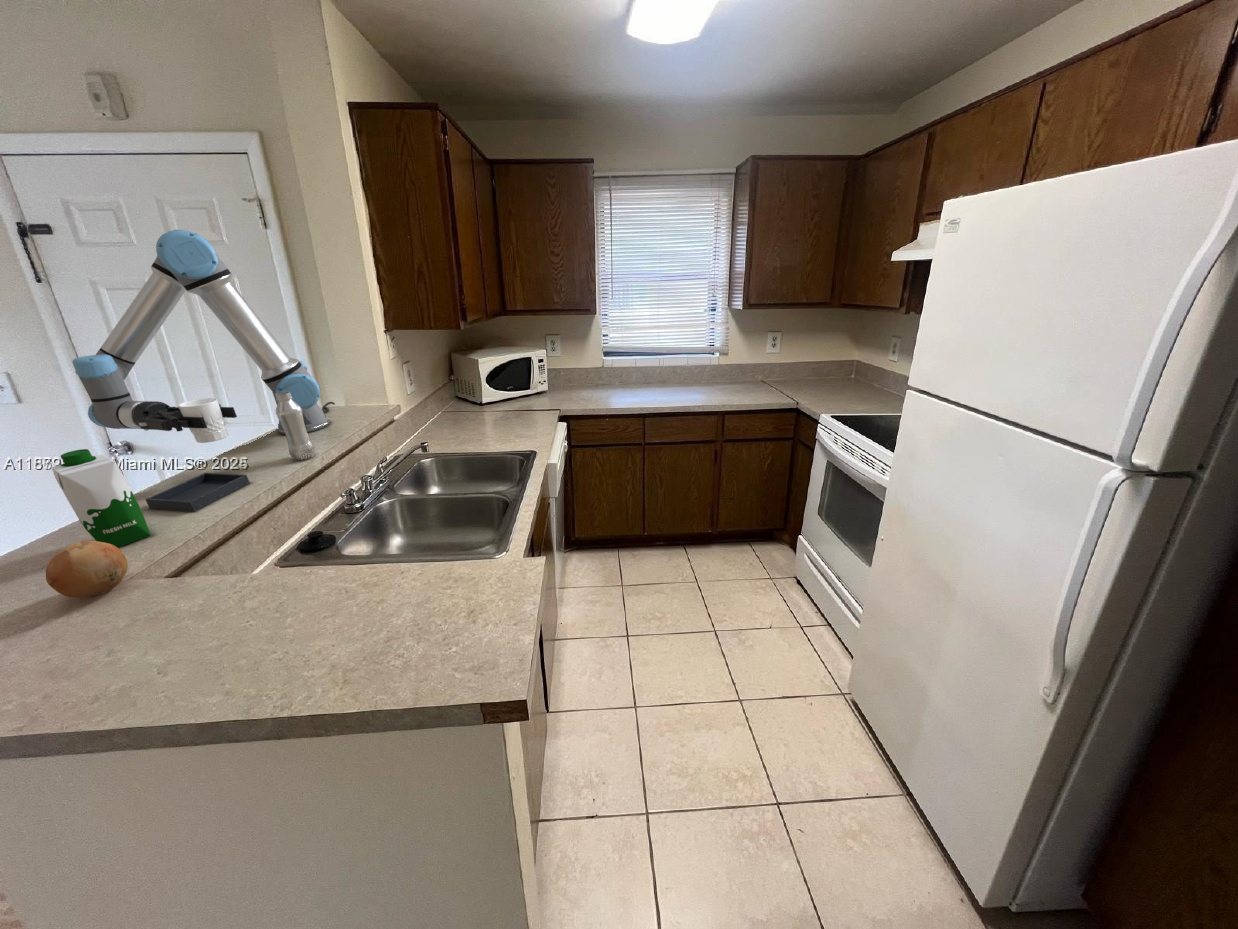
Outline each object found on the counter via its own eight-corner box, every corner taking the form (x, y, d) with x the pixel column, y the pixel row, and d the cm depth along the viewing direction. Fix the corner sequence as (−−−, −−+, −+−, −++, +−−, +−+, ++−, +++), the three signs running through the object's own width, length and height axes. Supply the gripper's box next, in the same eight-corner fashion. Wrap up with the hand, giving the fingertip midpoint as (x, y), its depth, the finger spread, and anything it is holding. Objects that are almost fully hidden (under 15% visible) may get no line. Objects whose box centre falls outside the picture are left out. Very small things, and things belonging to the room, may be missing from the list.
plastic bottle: (294, 464, 137) (270, 397, 129) (290, 457, 142) (267, 393, 134) (319, 457, 141) (298, 392, 133) (314, 451, 146) (293, 388, 138)
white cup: (215, 443, 121) (199, 406, 117) (185, 444, 122) (169, 407, 117) (238, 433, 128) (224, 397, 124) (210, 433, 129) (195, 398, 125)
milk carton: (143, 524, 108) (101, 443, 100) (158, 535, 103) (114, 451, 95) (90, 543, 101) (40, 458, 93) (103, 555, 97) (51, 467, 88)
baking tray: (209, 481, 128) (205, 472, 127) (250, 483, 126) (246, 474, 125) (149, 508, 115) (144, 499, 114) (194, 511, 113) (190, 502, 112)
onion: (98, 576, 90) (71, 531, 86) (152, 572, 91) (128, 528, 86) (45, 611, 81) (12, 563, 77) (104, 607, 82) (75, 559, 78)
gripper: (191, 416, 136) (258, 418, 132) (111, 442, 118) (185, 445, 114) (181, 391, 133) (249, 392, 129) (96, 414, 115) (172, 416, 111)
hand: (219, 417), depth 122 cm, fingers closed on white cup, 8 cm apart
